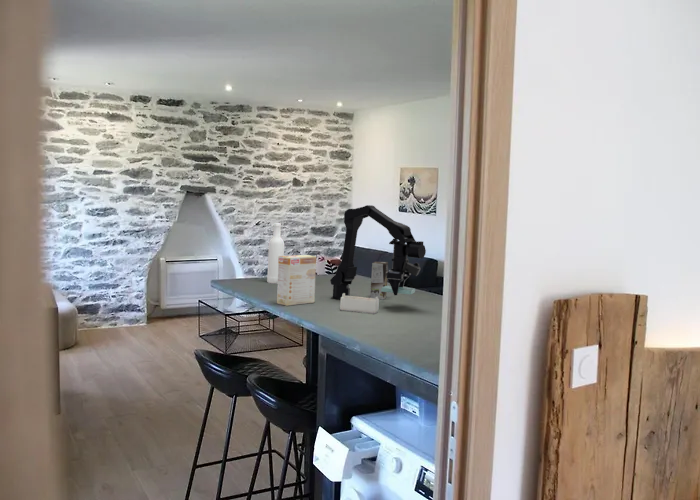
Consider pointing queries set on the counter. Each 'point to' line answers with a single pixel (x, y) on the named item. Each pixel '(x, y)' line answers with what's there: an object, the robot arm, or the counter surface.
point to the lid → (400, 290)
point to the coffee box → (378, 279)
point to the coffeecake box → (296, 279)
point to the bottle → (274, 254)
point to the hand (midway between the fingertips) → (397, 294)
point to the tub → (359, 304)
